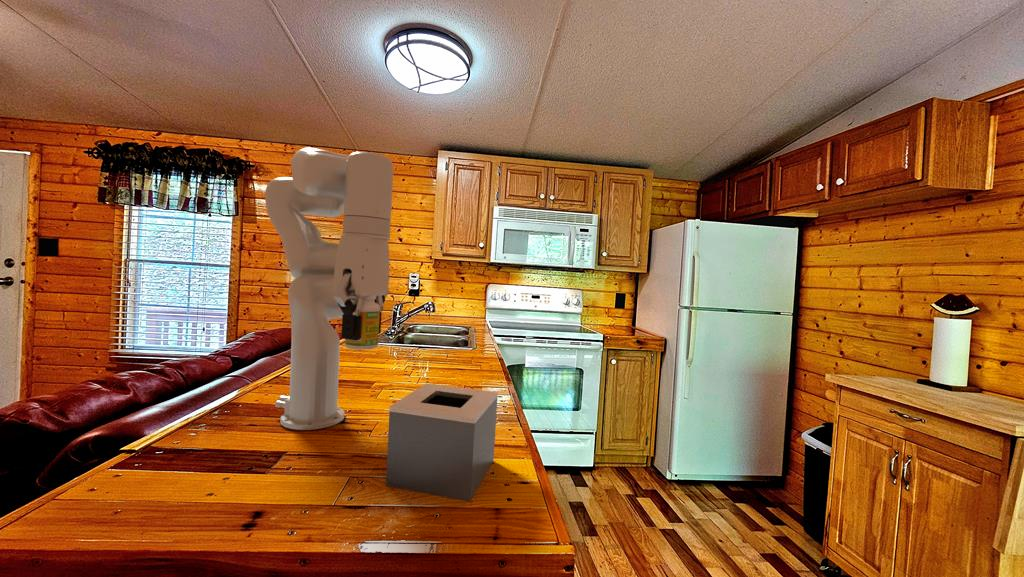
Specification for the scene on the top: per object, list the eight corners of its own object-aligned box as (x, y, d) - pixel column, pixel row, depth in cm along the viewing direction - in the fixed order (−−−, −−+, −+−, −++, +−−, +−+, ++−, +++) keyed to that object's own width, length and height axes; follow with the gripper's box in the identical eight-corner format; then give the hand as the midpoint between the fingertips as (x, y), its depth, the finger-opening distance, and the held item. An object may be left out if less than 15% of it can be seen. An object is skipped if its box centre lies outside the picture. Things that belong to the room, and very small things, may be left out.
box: (385, 485, 66) (389, 406, 66) (422, 449, 80) (426, 383, 79) (470, 501, 64) (475, 418, 63) (493, 460, 77) (497, 392, 77)
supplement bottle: (367, 351, 69) (370, 292, 68) (337, 348, 70) (340, 289, 69) (383, 345, 74) (386, 290, 73) (356, 342, 75) (358, 288, 74)
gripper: (373, 232, 80) (369, 327, 81) (313, 223, 63) (308, 342, 64) (410, 235, 78) (405, 331, 79) (358, 225, 61) (352, 347, 62)
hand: (361, 335), depth 72 cm, fingers closed on supplement bottle, 5 cm apart
